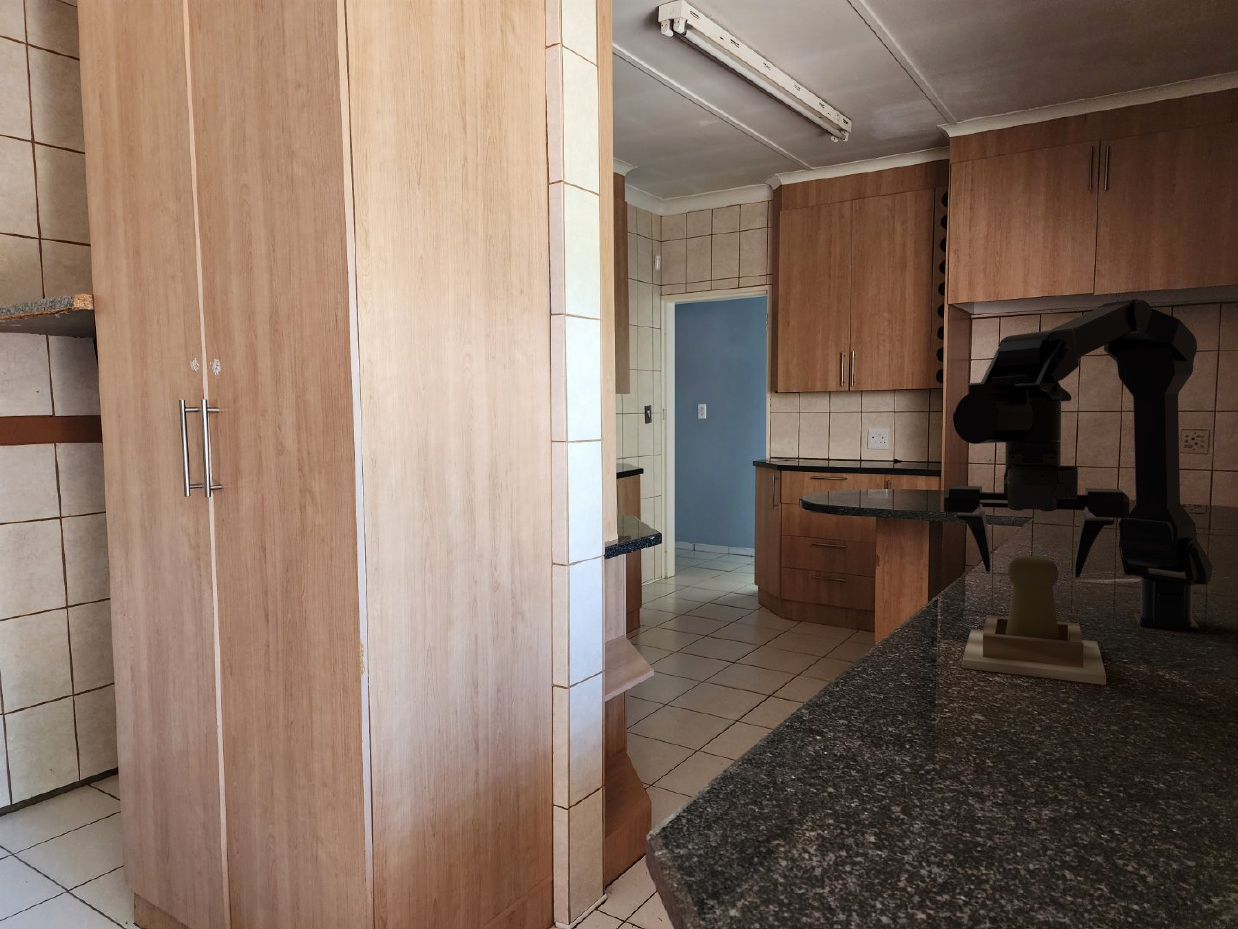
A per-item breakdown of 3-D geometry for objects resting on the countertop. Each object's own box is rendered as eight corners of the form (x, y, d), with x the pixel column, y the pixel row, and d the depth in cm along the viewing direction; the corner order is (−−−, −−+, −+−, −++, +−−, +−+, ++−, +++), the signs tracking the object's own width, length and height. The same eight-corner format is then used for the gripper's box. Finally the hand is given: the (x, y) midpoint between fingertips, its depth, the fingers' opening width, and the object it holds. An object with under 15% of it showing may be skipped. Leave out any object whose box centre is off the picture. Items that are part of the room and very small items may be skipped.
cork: (1069, 658, 89) (1070, 563, 88) (1011, 656, 90) (1012, 562, 90) (1051, 643, 95) (1052, 553, 94) (997, 641, 96) (998, 553, 96)
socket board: (971, 637, 102) (971, 610, 102) (1096, 649, 95) (1097, 621, 95) (962, 668, 90) (962, 638, 90) (1106, 685, 83) (1106, 652, 83)
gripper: (939, 444, 88) (938, 581, 89) (1136, 443, 80) (1133, 595, 81) (948, 441, 98) (948, 564, 99) (1125, 440, 89) (1123, 575, 90)
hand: (1031, 574), depth 92 cm, fingers open, 9 cm apart
